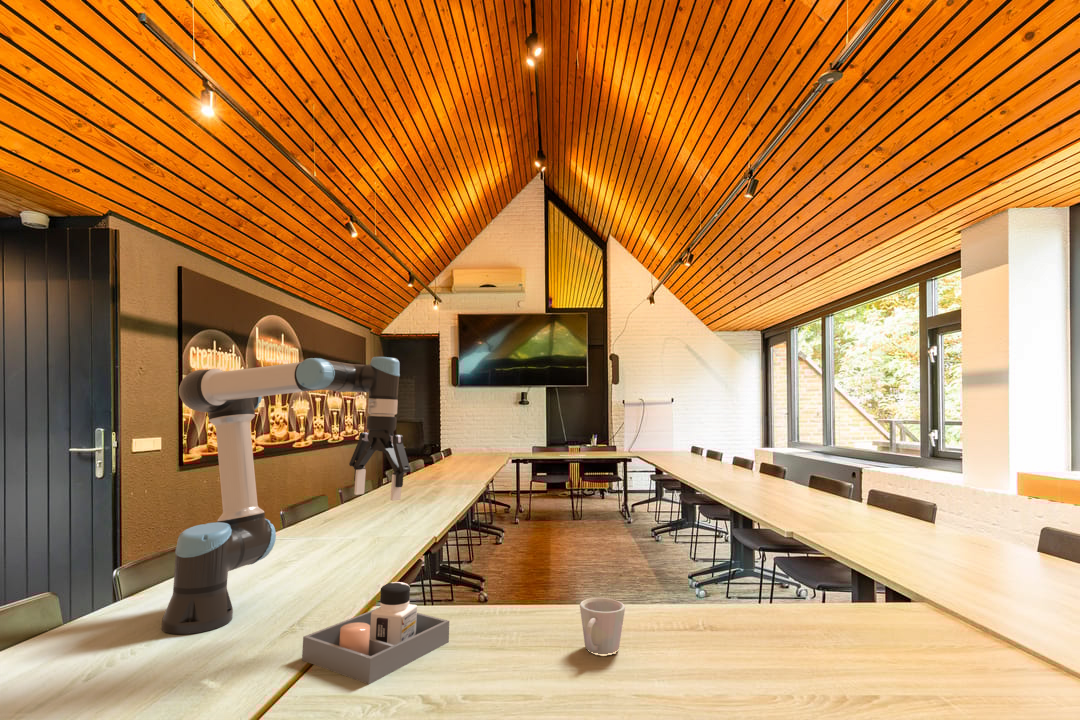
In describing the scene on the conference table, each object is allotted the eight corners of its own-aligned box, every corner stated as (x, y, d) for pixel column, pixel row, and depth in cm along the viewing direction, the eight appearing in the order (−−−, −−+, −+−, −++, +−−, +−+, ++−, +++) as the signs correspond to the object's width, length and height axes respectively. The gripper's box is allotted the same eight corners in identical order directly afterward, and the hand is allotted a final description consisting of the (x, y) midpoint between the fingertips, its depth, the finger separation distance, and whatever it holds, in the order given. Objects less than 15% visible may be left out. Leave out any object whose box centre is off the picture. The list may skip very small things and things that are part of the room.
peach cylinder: (332, 664, 116) (334, 629, 117) (354, 653, 122) (356, 620, 122) (352, 671, 113) (354, 635, 114) (374, 660, 119) (376, 626, 119)
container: (400, 652, 123) (402, 591, 124) (368, 648, 125) (371, 587, 126) (416, 638, 130) (418, 581, 132) (386, 635, 132) (389, 578, 133)
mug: (630, 645, 131) (630, 601, 132) (610, 671, 117) (611, 622, 118) (588, 637, 135) (588, 594, 136) (564, 661, 122) (565, 613, 123)
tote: (301, 663, 118) (303, 636, 119) (385, 627, 139) (386, 604, 139) (369, 688, 108) (370, 658, 109) (448, 645, 129) (449, 620, 129)
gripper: (339, 413, 151) (333, 493, 149) (405, 417, 138) (400, 504, 136) (361, 414, 158) (356, 490, 156) (427, 417, 145) (422, 500, 143)
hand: (376, 497), depth 146 cm, fingers open, 13 cm apart
